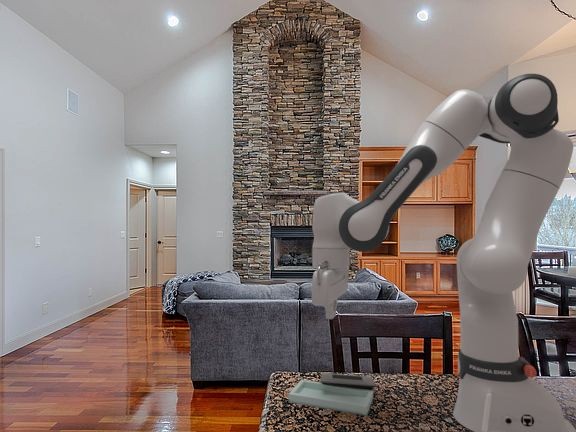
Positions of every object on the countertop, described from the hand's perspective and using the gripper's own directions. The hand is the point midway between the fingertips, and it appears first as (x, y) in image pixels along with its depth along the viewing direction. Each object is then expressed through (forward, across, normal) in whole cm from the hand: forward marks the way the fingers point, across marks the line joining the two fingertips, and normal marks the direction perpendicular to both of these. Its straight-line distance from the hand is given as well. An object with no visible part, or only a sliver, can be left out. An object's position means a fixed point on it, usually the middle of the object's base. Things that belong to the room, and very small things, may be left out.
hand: (330, 317), depth 94 cm
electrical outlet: (+20, +12, -1) cm, 23 cm away
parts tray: (+20, 0, 0) cm, 20 cm away
